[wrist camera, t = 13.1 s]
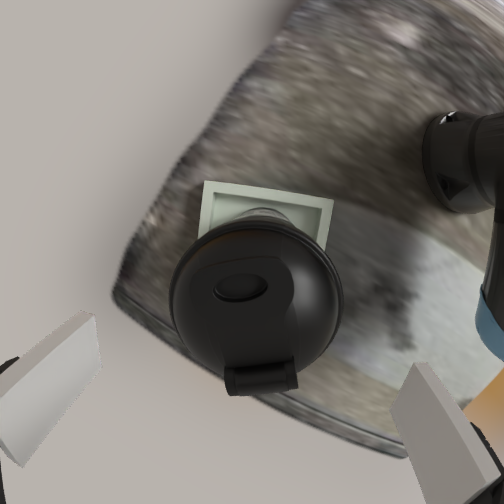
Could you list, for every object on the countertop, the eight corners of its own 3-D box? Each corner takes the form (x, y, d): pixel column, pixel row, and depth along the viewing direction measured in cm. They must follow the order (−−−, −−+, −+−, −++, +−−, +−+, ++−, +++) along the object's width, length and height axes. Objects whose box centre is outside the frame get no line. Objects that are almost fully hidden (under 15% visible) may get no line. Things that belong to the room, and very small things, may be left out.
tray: (209, 180, 34) (204, 180, 31) (328, 198, 34) (334, 200, 31) (194, 335, 40) (189, 345, 37) (296, 350, 39) (297, 362, 36)
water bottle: (296, 193, 33) (350, 211, 11) (309, 273, 35) (359, 399, 13) (213, 208, 34) (120, 254, 12) (231, 286, 36) (183, 419, 14)
